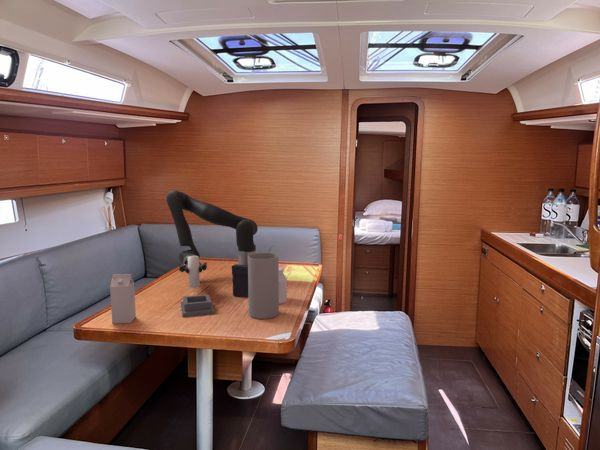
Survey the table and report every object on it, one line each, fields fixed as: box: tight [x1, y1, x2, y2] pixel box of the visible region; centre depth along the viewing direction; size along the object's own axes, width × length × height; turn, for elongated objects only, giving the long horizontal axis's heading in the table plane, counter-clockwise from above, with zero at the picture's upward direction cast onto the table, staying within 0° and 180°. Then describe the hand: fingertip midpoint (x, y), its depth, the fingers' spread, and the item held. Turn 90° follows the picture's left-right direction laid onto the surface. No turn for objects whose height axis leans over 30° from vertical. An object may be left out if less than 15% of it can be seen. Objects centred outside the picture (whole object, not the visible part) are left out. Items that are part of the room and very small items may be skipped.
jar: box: [279, 266, 288, 305], centre depth 200 cm, size 12×10×15 cm
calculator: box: [231, 263, 249, 299], centre depth 206 cm, size 11×4×15 cm, turn 71°
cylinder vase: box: [247, 252, 280, 320], centre depth 181 cm, size 12×12×25 cm
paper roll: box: [188, 256, 201, 289], centre depth 203 cm, size 5×5×14 cm
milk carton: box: [109, 273, 137, 324], centre depth 174 cm, size 7×7×19 cm
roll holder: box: [180, 294, 216, 318], centre depth 189 cm, size 13×16×4 cm
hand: (194, 270), depth 200 cm, fingers closed on paper roll, 5 cm apart
